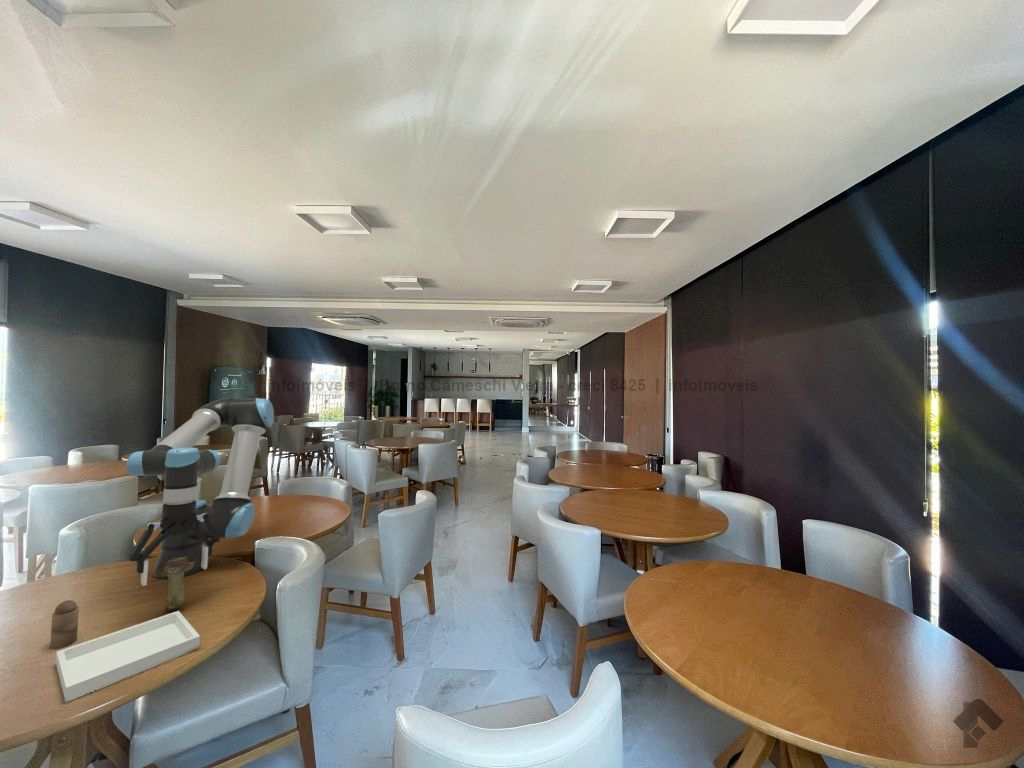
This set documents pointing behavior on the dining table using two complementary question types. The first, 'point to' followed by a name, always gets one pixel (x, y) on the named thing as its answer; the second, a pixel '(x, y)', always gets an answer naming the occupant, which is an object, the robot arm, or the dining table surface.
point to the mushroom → (175, 579)
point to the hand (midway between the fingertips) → (175, 575)
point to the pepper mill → (64, 625)
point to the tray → (123, 654)
